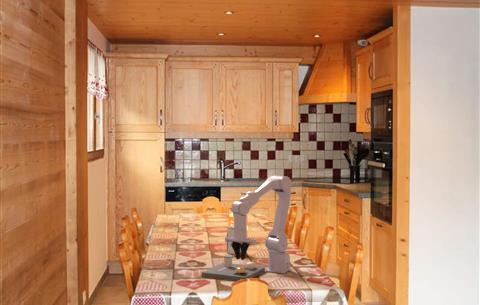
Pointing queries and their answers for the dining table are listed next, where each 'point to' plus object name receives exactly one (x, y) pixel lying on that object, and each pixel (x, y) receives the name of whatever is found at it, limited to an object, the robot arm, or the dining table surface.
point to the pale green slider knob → (228, 261)
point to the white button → (250, 266)
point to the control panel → (231, 272)
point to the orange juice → (231, 221)
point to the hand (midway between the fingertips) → (240, 259)
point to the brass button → (240, 270)
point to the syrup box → (229, 248)
